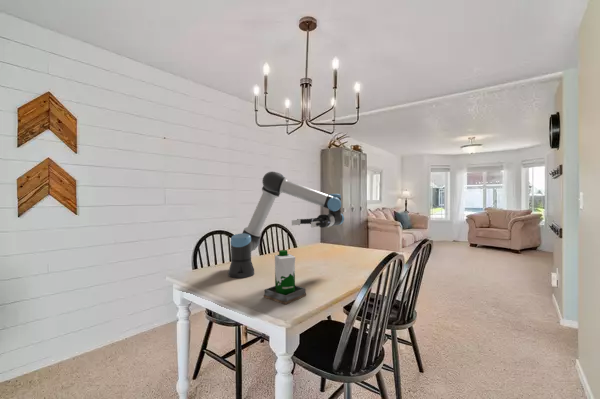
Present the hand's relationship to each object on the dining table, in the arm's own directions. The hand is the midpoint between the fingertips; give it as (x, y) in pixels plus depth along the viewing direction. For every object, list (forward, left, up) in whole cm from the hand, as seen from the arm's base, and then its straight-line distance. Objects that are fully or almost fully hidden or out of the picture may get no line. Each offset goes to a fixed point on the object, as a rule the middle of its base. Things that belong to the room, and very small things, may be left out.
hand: (301, 223), depth 156 cm
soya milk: (+7, -20, -31) cm, 38 cm away
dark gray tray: (+7, -20, -32) cm, 38 cm away
